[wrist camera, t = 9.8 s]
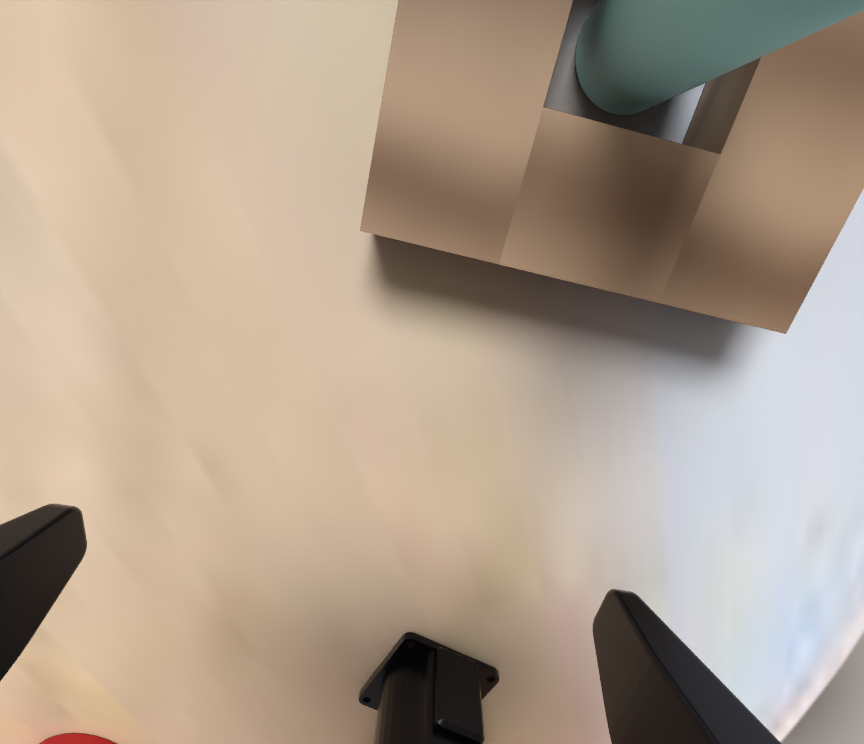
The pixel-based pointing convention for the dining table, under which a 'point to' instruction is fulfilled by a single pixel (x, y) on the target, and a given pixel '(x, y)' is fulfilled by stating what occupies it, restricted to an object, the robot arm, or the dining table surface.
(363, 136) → the dining table surface
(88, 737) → the canned food
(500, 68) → the socket
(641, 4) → the peg
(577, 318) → the dining table surface
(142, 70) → the dining table surface
